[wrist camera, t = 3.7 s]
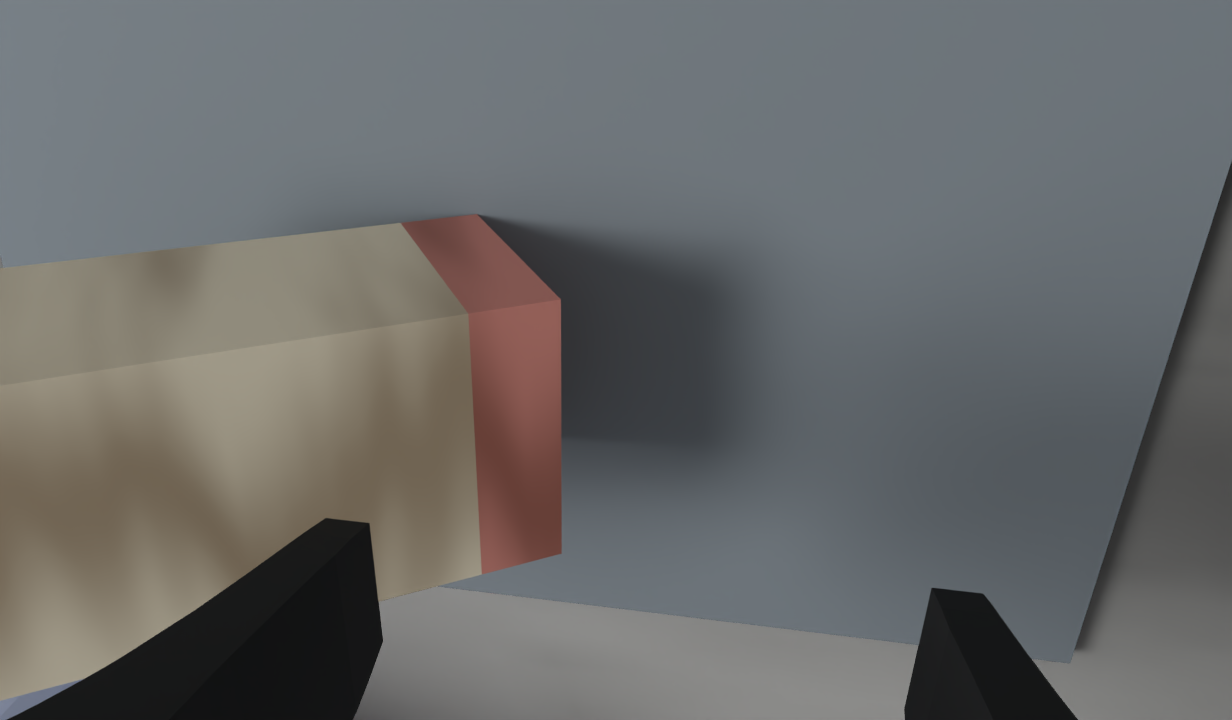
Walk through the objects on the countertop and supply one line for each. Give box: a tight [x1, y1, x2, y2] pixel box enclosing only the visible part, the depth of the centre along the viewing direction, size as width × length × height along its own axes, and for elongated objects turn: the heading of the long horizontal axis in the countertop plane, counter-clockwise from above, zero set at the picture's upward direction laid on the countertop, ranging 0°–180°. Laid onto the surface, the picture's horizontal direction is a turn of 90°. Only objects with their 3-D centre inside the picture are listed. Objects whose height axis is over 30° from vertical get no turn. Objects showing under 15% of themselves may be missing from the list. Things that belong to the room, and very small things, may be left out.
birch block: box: [0, 214, 562, 701], centre depth 16 cm, size 5×4×9 cm
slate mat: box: [0, 0, 1232, 663], centre depth 19 cm, size 16×24×1 cm, turn 89°
